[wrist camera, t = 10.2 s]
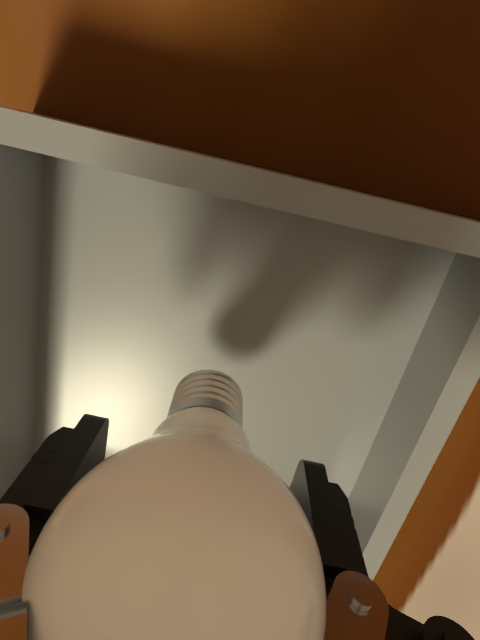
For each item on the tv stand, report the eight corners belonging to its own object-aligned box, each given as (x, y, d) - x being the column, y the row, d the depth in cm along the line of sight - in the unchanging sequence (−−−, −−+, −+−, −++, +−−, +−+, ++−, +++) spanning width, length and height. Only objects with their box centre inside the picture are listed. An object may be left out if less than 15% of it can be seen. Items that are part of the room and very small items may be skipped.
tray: (32, 112, 15) (-43, 96, 11) (482, 221, 16) (550, 240, 12) (24, 472, 22) (-24, 537, 18) (340, 536, 23) (357, 610, 19)
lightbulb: (133, 448, 17) (-32, 873, 7) (127, 311, 15) (-140, 659, 5) (280, 457, 17) (327, 893, 7) (298, 323, 15) (410, 690, 5)
